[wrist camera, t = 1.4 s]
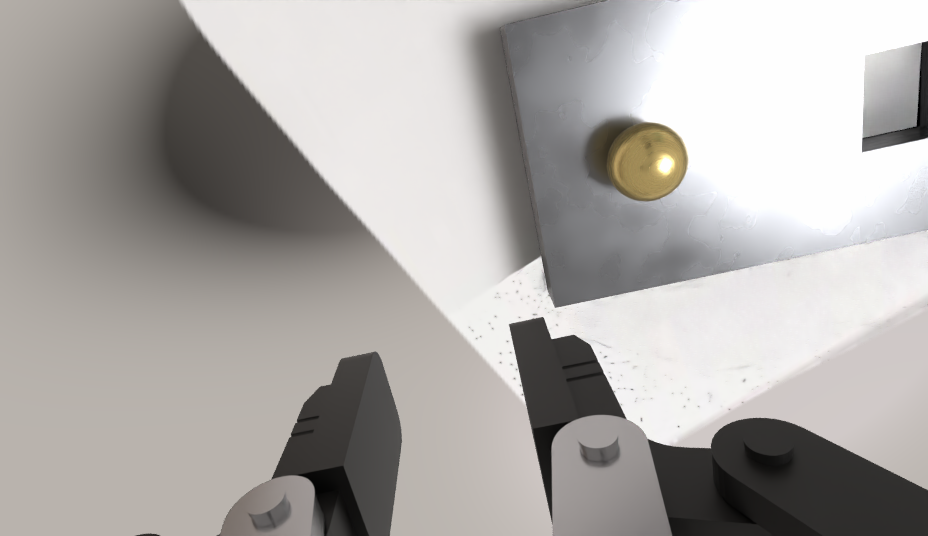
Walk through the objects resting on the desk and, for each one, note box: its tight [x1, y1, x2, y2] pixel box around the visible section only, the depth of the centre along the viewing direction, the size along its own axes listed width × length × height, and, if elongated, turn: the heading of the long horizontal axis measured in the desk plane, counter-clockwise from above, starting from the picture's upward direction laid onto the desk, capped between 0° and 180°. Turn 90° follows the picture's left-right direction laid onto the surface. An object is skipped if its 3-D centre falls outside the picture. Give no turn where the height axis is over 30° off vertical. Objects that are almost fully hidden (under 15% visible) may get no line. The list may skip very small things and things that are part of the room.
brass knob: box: [607, 122, 689, 201], centre depth 25 cm, size 4×4×4 cm
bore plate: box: [500, 0, 928, 308], centre depth 28 cm, size 14×24×2 cm, turn 102°
